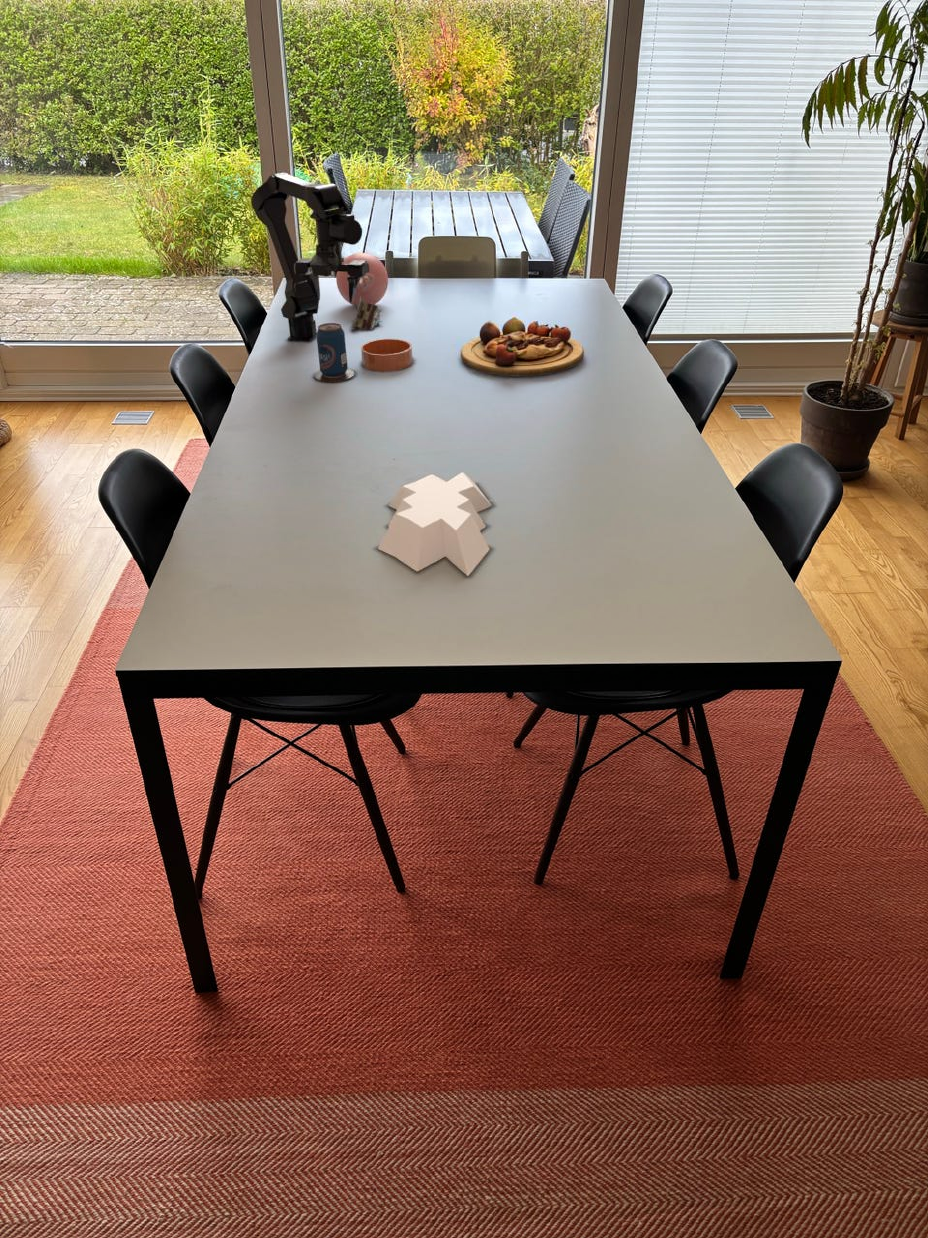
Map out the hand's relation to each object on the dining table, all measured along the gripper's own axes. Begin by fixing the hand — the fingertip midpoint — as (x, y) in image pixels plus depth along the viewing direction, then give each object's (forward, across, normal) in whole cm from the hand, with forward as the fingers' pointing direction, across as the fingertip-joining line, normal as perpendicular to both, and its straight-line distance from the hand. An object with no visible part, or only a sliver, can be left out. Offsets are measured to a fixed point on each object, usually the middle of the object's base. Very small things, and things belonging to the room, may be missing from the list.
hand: (334, 301), depth 257 cm
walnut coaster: (+13, +6, -19) cm, 24 cm away
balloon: (+13, -7, +38) cm, 41 cm away
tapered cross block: (+14, +54, -90) cm, 106 cm away
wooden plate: (+13, +49, +4) cm, 51 cm away
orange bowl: (+13, +16, -7) cm, 22 cm away
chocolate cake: (+13, 0, +22) cm, 26 cm away
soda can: (+13, +6, -19) cm, 23 cm away
